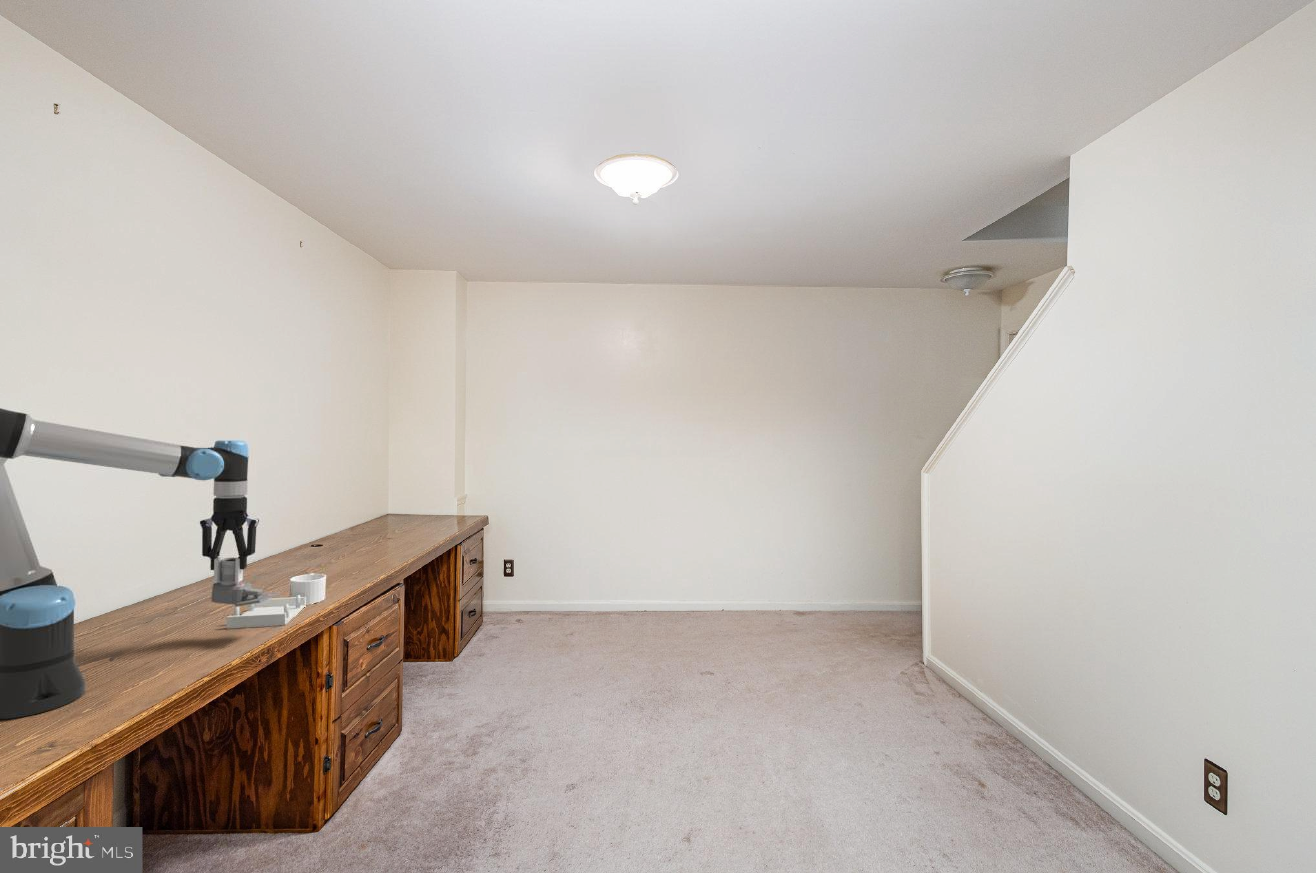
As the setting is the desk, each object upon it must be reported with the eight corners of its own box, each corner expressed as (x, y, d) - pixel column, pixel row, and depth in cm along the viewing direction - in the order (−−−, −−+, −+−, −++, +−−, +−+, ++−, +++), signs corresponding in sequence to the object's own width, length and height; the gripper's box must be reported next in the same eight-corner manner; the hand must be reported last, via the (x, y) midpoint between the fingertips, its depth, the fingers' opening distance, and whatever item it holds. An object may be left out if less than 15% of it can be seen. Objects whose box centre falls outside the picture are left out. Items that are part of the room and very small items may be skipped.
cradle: (285, 625, 173) (285, 608, 173) (226, 628, 170) (226, 611, 170) (305, 607, 191) (305, 591, 191) (253, 609, 187) (253, 594, 187)
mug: (323, 604, 194) (323, 580, 194) (286, 607, 190) (286, 582, 190) (329, 593, 206) (329, 570, 206) (294, 596, 203) (295, 573, 202)
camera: (230, 554, 167) (283, 560, 167) (226, 595, 167) (279, 601, 167) (207, 561, 158) (263, 567, 158) (203, 605, 158) (259, 610, 159)
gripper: (271, 495, 167) (269, 577, 167) (200, 495, 163) (198, 579, 163) (260, 497, 160) (258, 583, 160) (186, 497, 156) (184, 586, 156)
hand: (228, 581), depth 162 cm, fingers closed on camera, 4 cm apart
